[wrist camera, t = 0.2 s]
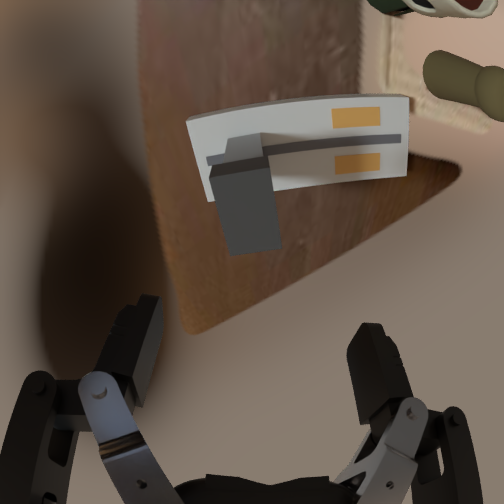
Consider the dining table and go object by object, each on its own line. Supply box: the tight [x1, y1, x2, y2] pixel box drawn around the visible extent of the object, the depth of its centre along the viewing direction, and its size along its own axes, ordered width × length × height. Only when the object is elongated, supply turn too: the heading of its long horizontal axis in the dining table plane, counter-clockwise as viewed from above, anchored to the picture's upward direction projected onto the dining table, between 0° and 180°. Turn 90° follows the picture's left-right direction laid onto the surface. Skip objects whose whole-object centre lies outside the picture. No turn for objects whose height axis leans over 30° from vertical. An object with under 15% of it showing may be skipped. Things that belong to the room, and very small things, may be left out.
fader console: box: [186, 94, 409, 202], centre depth 27 cm, size 22×9×2 cm, turn 100°
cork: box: [423, 50, 504, 122], centre depth 18 cm, size 6×6×11 cm
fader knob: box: [209, 133, 282, 256], centre depth 23 cm, size 4×6×11 cm, turn 10°
